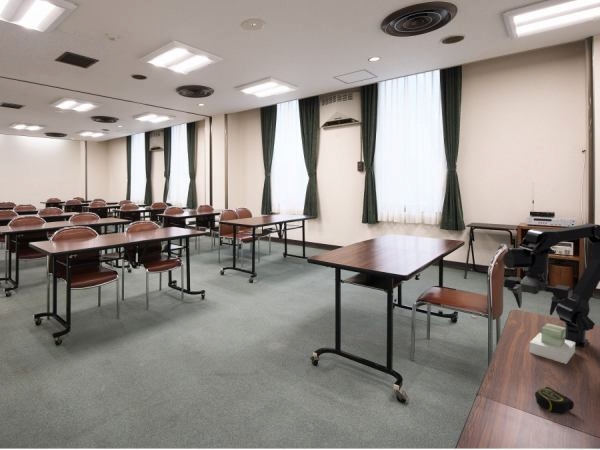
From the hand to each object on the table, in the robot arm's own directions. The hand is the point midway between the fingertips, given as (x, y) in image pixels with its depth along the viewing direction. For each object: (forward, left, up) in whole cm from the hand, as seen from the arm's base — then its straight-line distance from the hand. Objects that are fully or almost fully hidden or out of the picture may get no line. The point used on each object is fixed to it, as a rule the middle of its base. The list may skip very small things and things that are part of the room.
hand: (535, 311), depth 118 cm
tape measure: (+33, +14, -12) cm, 38 cm away
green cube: (+2, +6, -8) cm, 11 cm away
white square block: (+2, +6, -12) cm, 14 cm away
